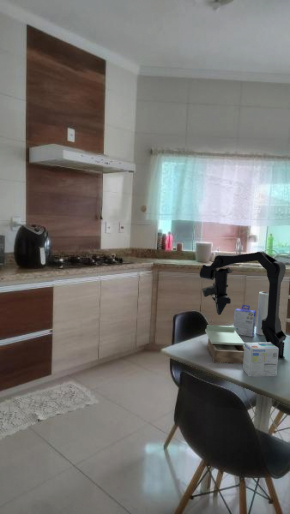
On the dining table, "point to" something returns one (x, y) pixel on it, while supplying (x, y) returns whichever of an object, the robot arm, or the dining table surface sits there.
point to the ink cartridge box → (244, 321)
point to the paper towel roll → (262, 310)
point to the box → (226, 353)
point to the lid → (223, 335)
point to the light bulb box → (260, 359)
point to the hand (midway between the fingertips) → (218, 314)
